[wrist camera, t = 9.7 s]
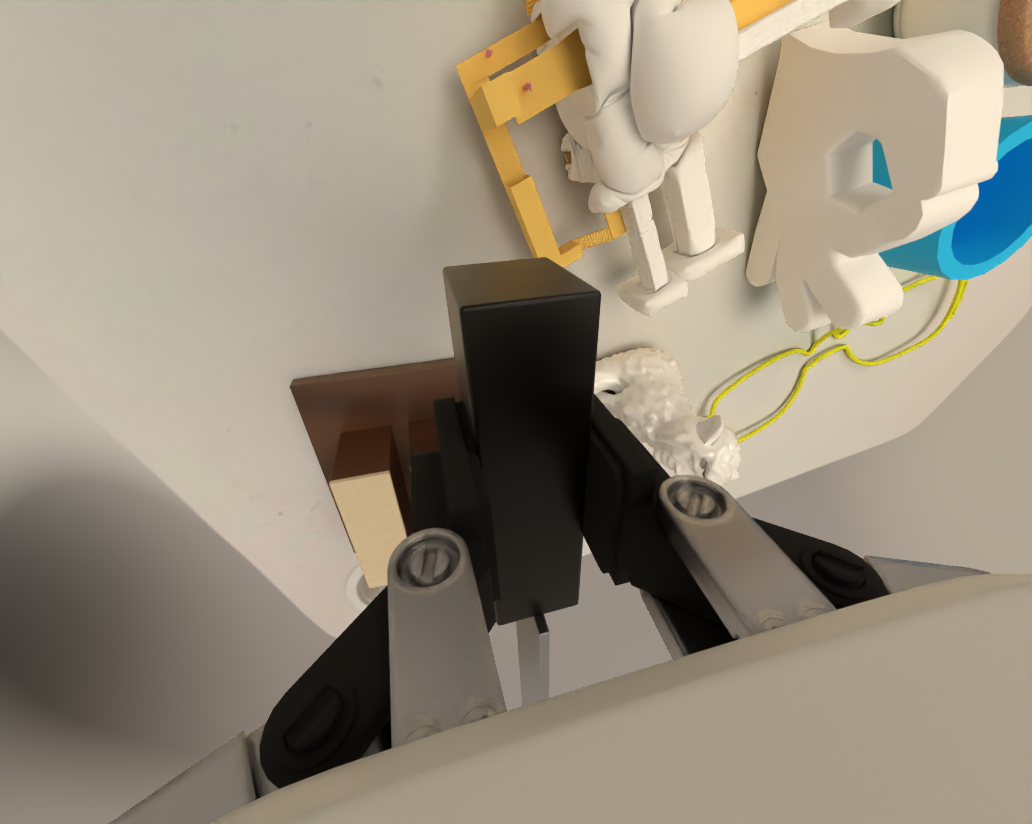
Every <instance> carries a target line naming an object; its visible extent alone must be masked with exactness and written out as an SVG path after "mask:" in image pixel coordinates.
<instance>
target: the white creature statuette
mask: <svg viewBox="0 0 1032 824" xmlns="http://www.w3.org/2000/svg"><path fill="white" fill-rule="evenodd" d="M605 390H612V391H614V392H615V393H616V394H615V395H612V394H609V393H607V392H606V391H605ZM683 390H684V384H683V380H682V378H681V373H680V368H679V364H678V362H677V360H675V359H673V358H671V355H669V354H666V353H665V352H663V351H661V352H659V351H658V350H657V349H655V348H653V349H650V348H641V347H640V348H637V349H635V350H628V351H627V352H625V353H623V352H620V353H619V354H614V355H612V356H611V357H604V358H603V359H602V360H599V361H596V370H595V383H594V394H595V395H596V396H597V397H598V398H599V400H600V401H601V402H602V403H603V404H604V405H605V407H606V408H607V409H608V410H609V411H610V413H611V414H612V415H613V416H614V417H615V418H618V419H620V420H621V421H622V422H623V423H624V424H625V425H626V426H627V428H628V429H629V430H630V431H631V432H632V433H633V434H634V436H635V437H636V438H637V439H638V440H639V441H641V442H646V443H647V444H648V445H649V446H651V447H652V448H653V449H654V452H653V456H654V459H655V460H656V461H657V462H659V463H662V464H664V465H665V466H666V467H668V468H669V469H671V470H675V471H674V472H675V475H694V476H700V477H703V478H706V479H709V480H711V481H713V482H715V483H716V484H718V485H720V486H721V485H723V484H726V483H727V482H728V480H729V479H732V480H735V479H738V478H739V473H738V470H737V467H738V466H739V464H740V461H741V459H740V457H739V453H740V450H741V446H740V445H739V444H738V442H737V439H736V437H735V435H734V432H733V430H731V429H730V428H729V427H727V426H725V425H724V424H723V421H722V418H721V416H720V415H715V416H712V417H710V418H705V417H701V416H694V413H693V412H692V411H691V409H692V406H691V405H690V404H689V400H688V397H687V396H686V395H684V394H683Z"/></svg>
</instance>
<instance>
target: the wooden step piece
mask: <svg viewBox="0 0 1032 824" xmlns="http://www.w3.org/2000/svg"><path fill="white" fill-rule="evenodd" d="M329 485H330V488H331V490H332V493H333V496H334V498H335V501H336V503H337V506H338V509H339V511H340V514H341V516H342V519H343V521H344V524H345V527H346V529H347V532H348V534H349V537H350V540H351V542H352V545H353V547H354V550H355V553H356V555H357V558H358V560H359V563H360V566H361V568H362V571H363V573H364V576H365V579H366V581H367V584H368V586H369V588H374V587H378V586H383V585H387V584H388V580H387V569H388V563H389V558H390V557H391V555H392V553H393V551H394V549H395V548H396V547H397V546H398V545H399V544H400V543H401V542H402V541H403V540H404V539H406V538H407V537H409V536H410V535H412V534H413V524H412V508H411V504H410V500H409V496H408V492H407V488H406V484H405V480H404V476H403V472H402V468H401V464H400V460H399V456H398V452H397V448H396V444H395V440H394V436H393V432H392V428H391V426H384V427H378V428H372V429H365V430H359V431H353V432H347V433H341V434H340V438H339V443H338V447H337V452H336V456H335V461H334V465H333V470H332V474H331V479H330V483H329Z"/></svg>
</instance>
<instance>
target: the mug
mask: <svg viewBox="0 0 1032 824" xmlns="http://www.w3.org/2000/svg"><path fill="white" fill-rule="evenodd" d="M996 161H997V162H998V171H997V172H996V173H995V175H994V176H993V177H992V178H991V179H989V180H986V181H983V182H980V183H977V184H978V187H979V196H978V200H977V201H976V203H975V204H974V206H973V207H972V209H971V210H970V211H969V212H968V213H967V214H965V215H964V216H963V217H961V218H960V219H959V220H958V221H955V222H953V223H951V224H949V225H947V226H945V227H943V228H941V229H939V230H937V231H935V232H933V233H931V234H929V235H927V236H925V237H923V238H921V239H918V240H915V241H912V242H909V243H906V244H904V245H901V246H898V247H895V248H892V249H889V250H886V251H883V252H880V253H878V254H879V256H880V257H881V258H882V260H883V261H884V262H885V264H886V265H887V266H889V267H894V268H899V269H904V270H908V271H913V272H918V273H923V274H928V275H933V276H938V277H943V278H947V279H955V280H967V279H970V278H973V277H976V276H979V275H982V274H985V273H986V272H988V271H989V270H991V269H993V268H994V267H996V266H997V265H999V264H1001V263H1002V262H1004V261H1005V260H1006V259H1007V258H1009V257H1010V256H1011V255H1012V254H1013V253H1014V252H1015V251H1017V250H1018V249H1019V248H1020V247H1021V246H1022V245H1024V244H1025V243H1026V241H1027V240H1028V239H1029V238H1030V237H1031V236H1032V115H1030V116H1018V117H1005V118H1001V124H1000V132H999V140H998V148H997V157H996ZM873 182H874V183H877V184H880V185H882V186H885V187H887V188H889V189H892V184H891V180H890V176H889V172H888V167H887V163H886V159H885V155H884V150H883V147H882V144H881V143H880V142H879V140H878V139H875V140H874V141H873ZM892 190H893V189H892Z"/></svg>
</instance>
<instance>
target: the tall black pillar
mask: <svg viewBox="0 0 1032 824" xmlns="http://www.w3.org/2000/svg"><path fill="white" fill-rule="evenodd" d="M443 277H444V284H445V292H446V299H447V306H448V314H449V321H450V328H451V336H452V343H453V350H454V358H455V365H456V372H457V380H458V387H459V394H460V401H462V403H463V406H464V410H465V414H466V418H467V422H468V425H469V429H470V433H471V437H472V441H473V444H474V448H475V452H476V455H477V456H478V457H479V461H480V465H481V469H482V472H483V476H484V480H485V484H486V487H487V491H488V495H489V500H490V505H491V511H492V519H493V528H494V538H495V548H496V557H497V567H498V577H499V586H500V596H501V600H499V601H495V602H494V605H495V613H496V622H497V624H498V625H504V624H507V623H511V622H515V621H516V625H517V637H518V652H519V666H520V679H521V693H522V706H526V705H529V704H532V703H535V702H538V701H542V700H545V699H548V698H549V629H548V626H547V623H546V620H545V617H544V614H545V613H549V612H552V611H556V610H560V609H563V608H567V607H571V606H574V605H577V604H578V599H579V586H580V572H581V559H582V545H583V534H582V530H583V516H584V503H585V489H586V476H587V462H588V449H589V436H591V424H592V410H593V397H594V383H595V370H596V356H597V343H598V329H599V316H600V303H601V293H600V291H599V290H597V289H596V288H594V287H593V286H591V285H589V284H588V283H586V282H585V281H583V280H582V279H580V278H578V277H577V276H575V275H574V274H572V273H571V272H569V271H567V270H566V269H564V268H563V267H561V266H560V265H558V264H556V263H555V262H553V261H552V260H550V259H549V258H546V257H541V258H531V259H520V260H510V261H500V262H490V263H479V264H469V265H459V266H449V267H445V268H443Z"/></svg>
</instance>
